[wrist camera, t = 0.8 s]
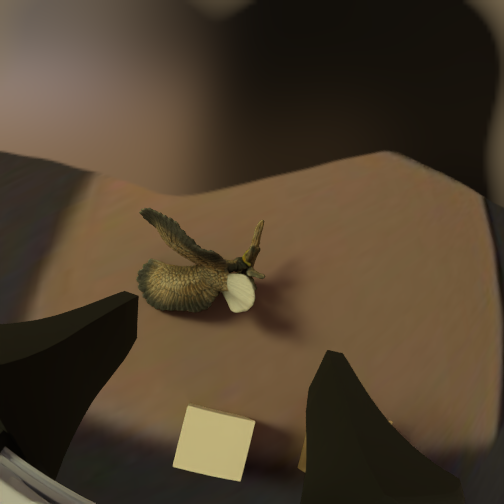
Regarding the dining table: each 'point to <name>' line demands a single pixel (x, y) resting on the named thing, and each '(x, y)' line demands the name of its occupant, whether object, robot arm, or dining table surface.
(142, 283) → the eagle figurine
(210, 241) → the dining table surface
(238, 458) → the cream block
